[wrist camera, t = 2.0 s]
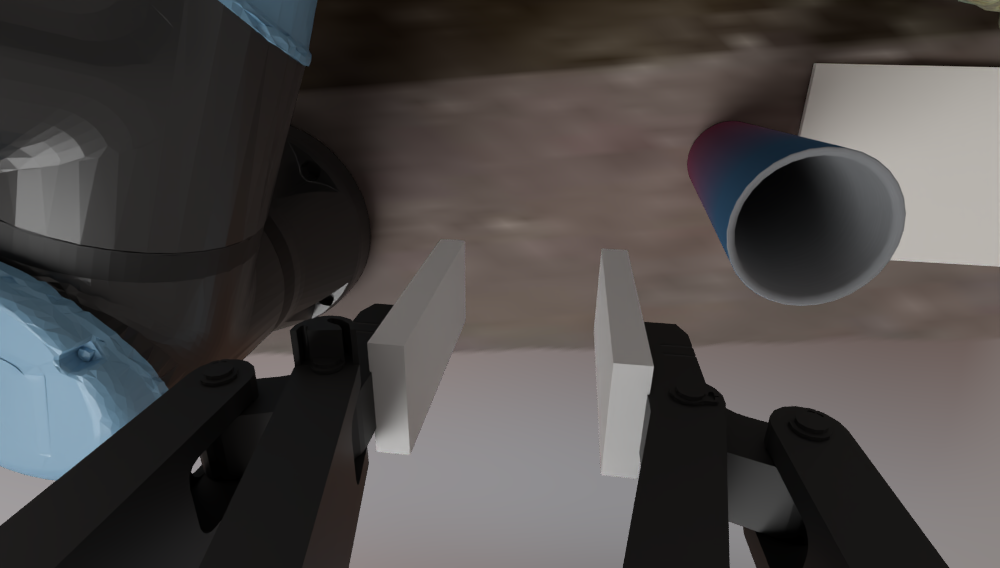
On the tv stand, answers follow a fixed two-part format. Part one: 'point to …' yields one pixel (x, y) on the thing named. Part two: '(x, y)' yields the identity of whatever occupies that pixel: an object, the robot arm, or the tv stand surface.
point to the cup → (796, 211)
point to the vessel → (986, 5)
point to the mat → (922, 148)
